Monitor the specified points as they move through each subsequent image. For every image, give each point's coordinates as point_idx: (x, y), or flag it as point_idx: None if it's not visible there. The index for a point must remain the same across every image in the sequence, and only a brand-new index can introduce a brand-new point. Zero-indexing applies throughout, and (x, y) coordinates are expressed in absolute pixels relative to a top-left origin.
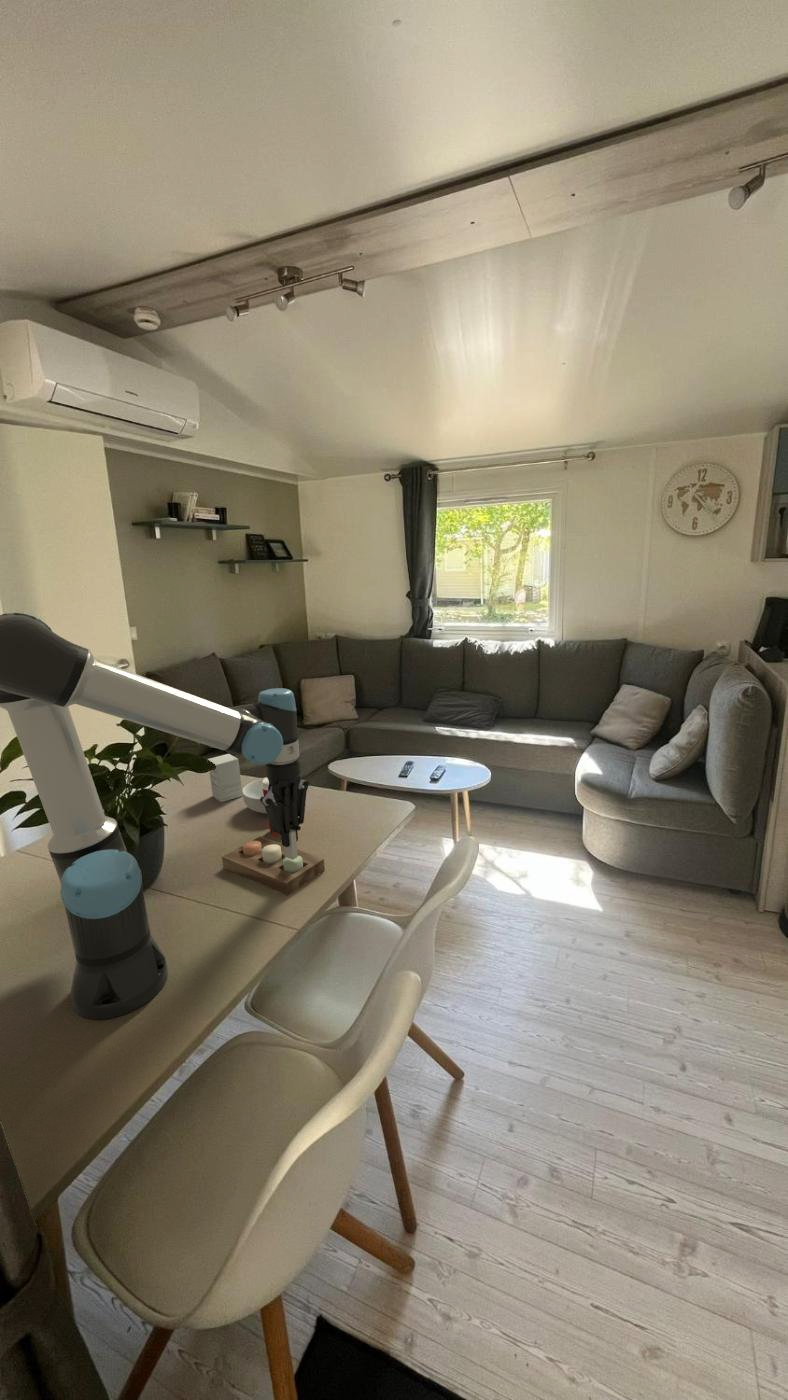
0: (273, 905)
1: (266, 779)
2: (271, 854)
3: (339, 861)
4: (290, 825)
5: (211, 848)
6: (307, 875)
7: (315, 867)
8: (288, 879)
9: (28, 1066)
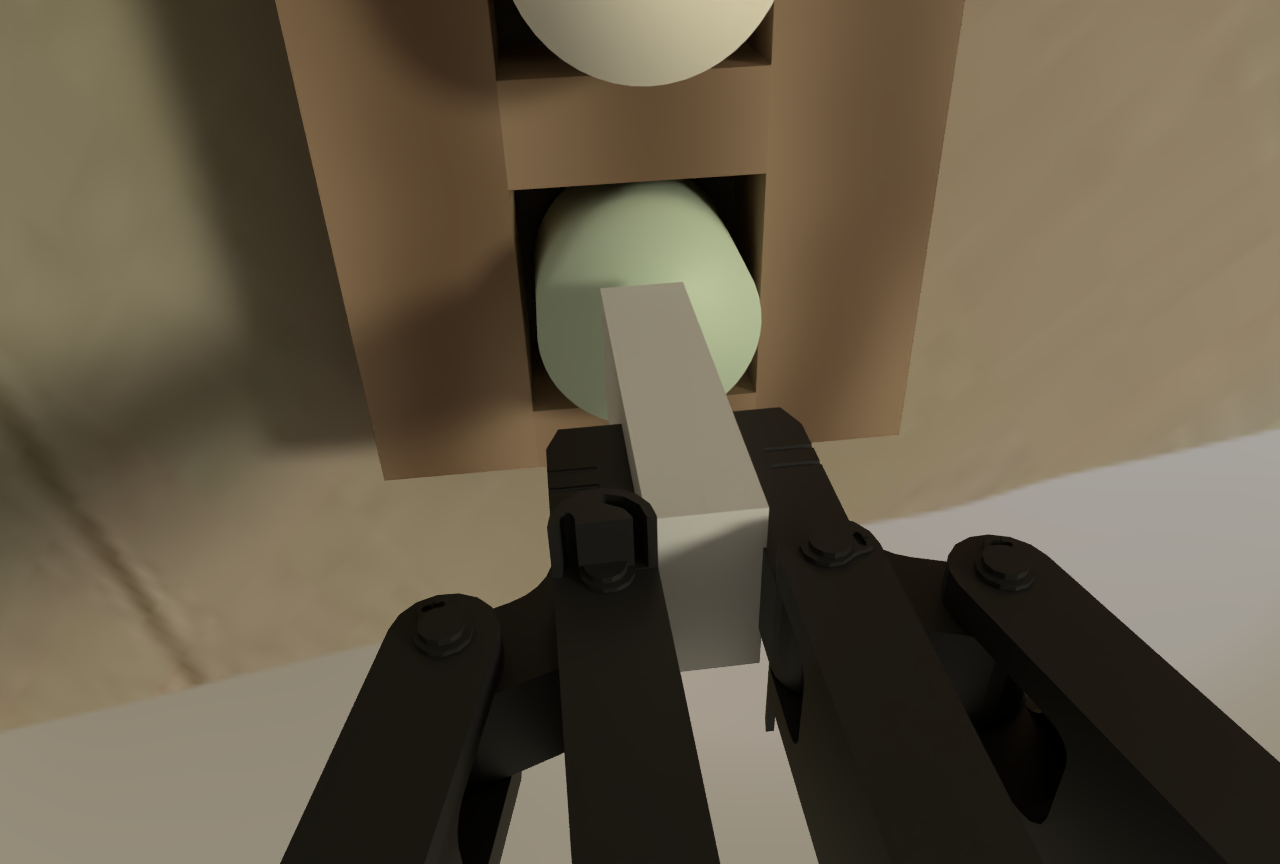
0: (229, 423)
1: None
2: (553, 49)
3: (1035, 365)
4: (783, 634)
5: None
6: None
7: None
8: (437, 450)
9: None
